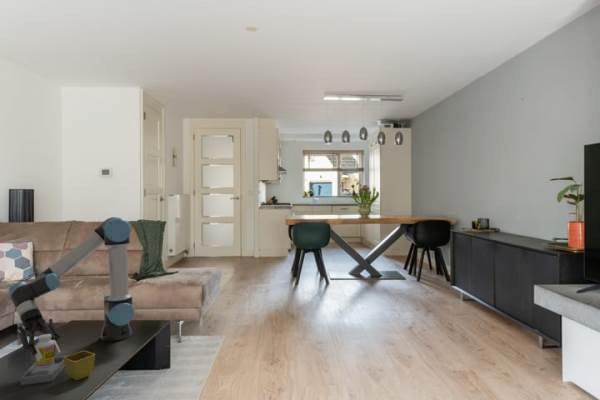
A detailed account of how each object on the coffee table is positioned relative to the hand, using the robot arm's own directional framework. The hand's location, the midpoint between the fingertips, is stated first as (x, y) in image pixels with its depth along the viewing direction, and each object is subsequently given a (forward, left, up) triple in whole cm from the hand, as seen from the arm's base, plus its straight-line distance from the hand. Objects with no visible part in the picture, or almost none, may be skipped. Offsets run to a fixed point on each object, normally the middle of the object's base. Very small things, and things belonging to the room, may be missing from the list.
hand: (49, 356), depth 167 cm
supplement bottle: (+3, -3, -5) cm, 6 cm away
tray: (+2, -3, -8) cm, 8 cm away
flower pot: (-13, +6, -8) cm, 17 cm away
